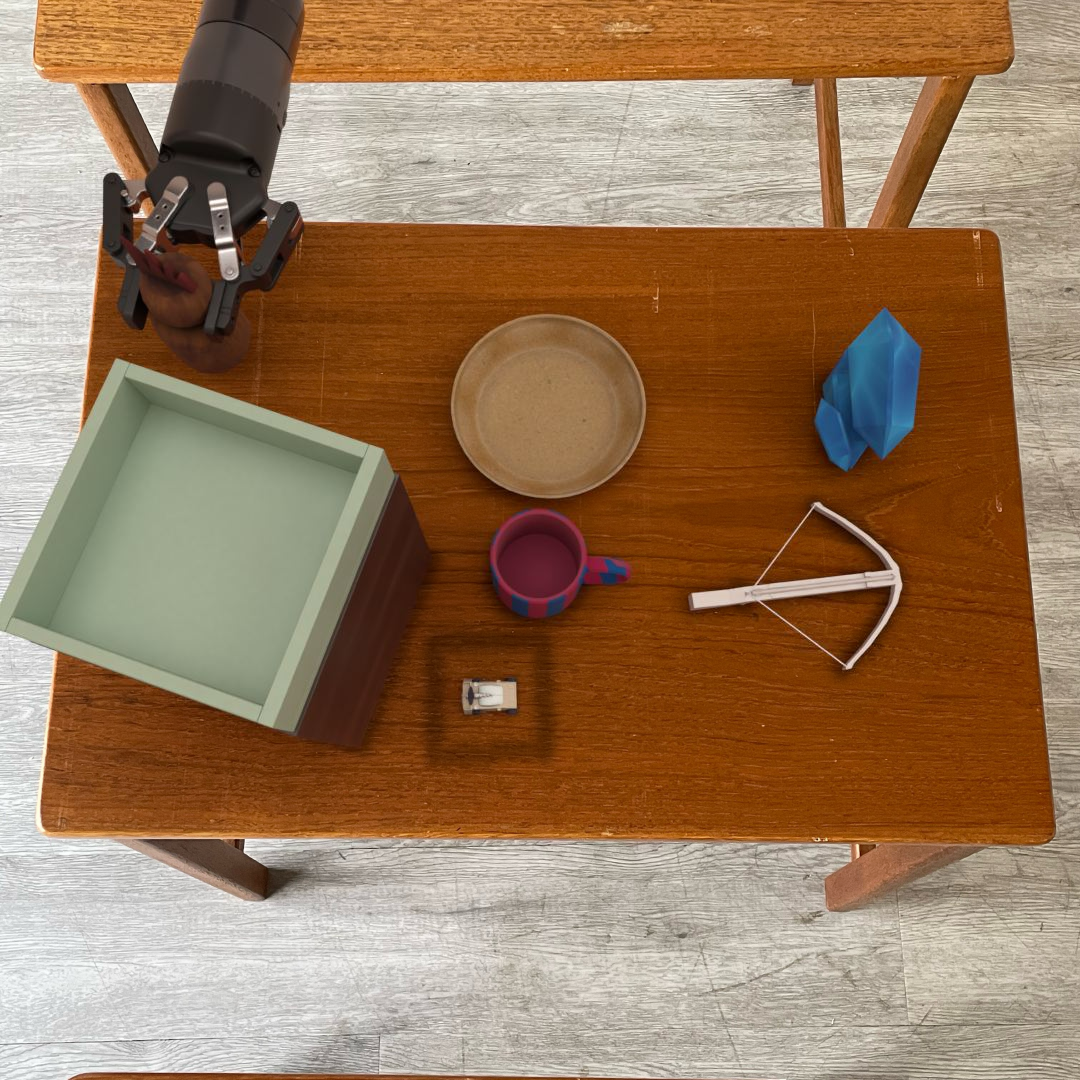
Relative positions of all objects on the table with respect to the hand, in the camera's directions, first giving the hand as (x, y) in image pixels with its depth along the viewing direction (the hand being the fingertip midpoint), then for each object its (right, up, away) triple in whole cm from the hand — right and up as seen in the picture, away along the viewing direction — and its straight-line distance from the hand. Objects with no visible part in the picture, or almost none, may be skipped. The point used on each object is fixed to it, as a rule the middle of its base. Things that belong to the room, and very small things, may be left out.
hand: (173, 331), depth 70 cm
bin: (+8, -15, -14) cm, 22 cm away
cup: (+26, -17, +8) cm, 32 cm away
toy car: (+21, -26, +6) cm, 34 cm away
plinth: (+7, -20, +7) cm, 22 cm away
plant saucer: (+25, -4, +11) cm, 28 cm away
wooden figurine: (0, +1, +9) cm, 9 cm away
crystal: (+49, -4, +12) cm, 50 cm away
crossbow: (+44, -18, +9) cm, 48 cm away
